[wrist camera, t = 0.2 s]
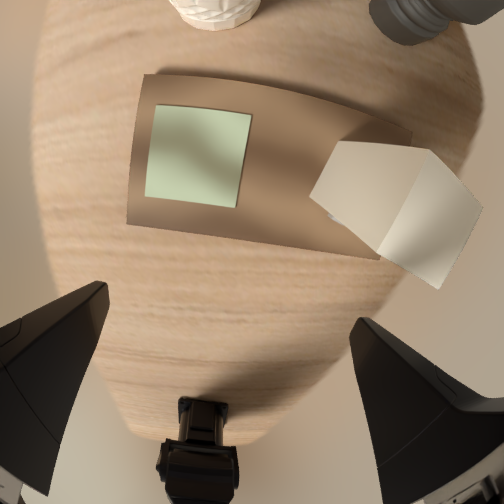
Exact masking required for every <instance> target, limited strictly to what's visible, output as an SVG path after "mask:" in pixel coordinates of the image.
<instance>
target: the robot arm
mask: <svg viewBox="0 0 504 504" xmlns="http://www.w3.org/2000/svg"><path fill="white" fill-rule="evenodd" d="M109 305H110V301H109V291H108V285H107V283H106V282H102V281H94V282H92V283H90V284H88V285H86V286H83V287H81V288H79V289H77V290H75V291H73V292H71V293H69V294H67V295H65V296H63V297H61V298H59V299H57V300H54V301H52V302H51V303H48V304H46V305H45V306H42V307H41V308H38V309H36V310H34V311H32V312H31V313H29V314H27V315H25V316H23V317H22V318H19V319H17V320H15V321H13V322H11V323H9V324H7V325H5V326H3V327H1V328H0V504H25V502H24V500H23V498H22V496H21V494H20V493H21V489H22V485H23V484H25V485H27V486H29V487H30V488H32V489H34V490H36V491H37V492H39V493H41V494H43V495H45V496H48V494H49V490H50V485H51V480H52V476H53V472H54V467H55V463H56V460H57V456H58V452H59V449H60V444H61V441H62V438H63V434H64V431H65V428H66V425H67V422H68V419H69V416H70V413H71V410H72V407H73V404H74V401H75V398H76V396H77V393H78V390H79V388H80V385H81V382H82V380H83V377H84V375H85V372H86V370H87V367H88V365H89V363H90V360H91V358H92V355H93V353H94V351H95V348H96V346H97V343H98V340H99V337H100V334H101V331H102V328H103V325H104V322H105V319H106V316H107V313H108V310H109ZM349 340H350V346H351V352H352V358H353V364H354V370H355V374H356V378H357V382H358V386H359V390H360V394H361V397H362V402H363V405H364V410H365V414H366V418H367V422H368V426H369V431H370V436H371V440H372V445H373V449H374V454H375V459H376V464H377V467H378V468H377V470H378V476H379V482H380V487H381V493H382V500H383V504H413V503H415V502H417V501H419V500H422V499H423V500H424V503H425V504H504V397H503V398H487V397H484V396H481V395H480V394H478V393H476V392H475V391H473V390H472V389H470V388H468V387H467V386H465V385H464V384H462V383H461V382H459V381H457V380H456V379H454V378H453V377H451V376H450V375H448V374H447V373H445V372H444V371H443V370H441V369H440V368H439V367H437V366H436V365H434V364H433V363H432V362H430V361H429V360H427V359H426V358H425V357H423V356H422V355H421V354H419V353H418V352H416V351H415V350H414V349H412V348H411V347H409V346H408V345H407V344H405V343H404V342H402V341H401V340H400V339H398V338H397V337H396V336H394V335H393V334H391V333H390V332H389V331H387V330H386V329H384V328H383V327H381V326H380V325H378V324H377V323H376V322H374V321H373V320H372V319H370V318H368V317H359V318H358V319H357V321H356V323H355V325H354V327H353V329H352V331H351V333H350V336H349ZM227 411H228V404H226V403H216V402H206V401H198V400H190V399H183V398H180V399H179V400H178V413H179V423H180V428H179V437H178V441H176V440H171V439H168V438H166V442H165V443H161V450H160V455H159V458H158V462H157V464H156V470H157V471H158V472H159V475H160V478H161V481H162V482H165V490H166V494H167V497H168V499H169V501H170V503H171V504H229V503H230V501H231V500H232V498H233V496H234V489H237V488H238V485H239V466H238V458H237V451H236V446H231V447H230V446H223V428H224V425H225V420H226V415H227Z"/></svg>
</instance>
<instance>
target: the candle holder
mask: <svg viewBox="0 0 504 504" xmlns="http://www.w3.org/2000/svg"><path fill="white" fill-rule="evenodd" d="M502 9H504V0H371V1H370V3H369V11H370V15H371V17H372V19H373V21H374V23H375V25H376V26H377V27H378V28H379V29H380V30H381V32H382V33H383V34H385V35H386V36H387V37H389V38H390V39H391V40H393V41H394V42H397V43H399V44H402V45H411V46H413V45H415V44H418V43H421V42H423V41H426V40H429V39H432V38H434V37H435V36H437V35H439V33H441V32H442V31H444V30H446V29H447V27H448V24H449V20H450V21H453V20H455V21H458V22H462V23H466V24H470V25H477V24H480V23H482V22H483V21H485V20H487V19H488V18H490V17H492V16H493V15H494V14H496V13H497V12H499V11H500V10H502Z"/></svg>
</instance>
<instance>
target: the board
mask: <svg viewBox="0 0 504 504" xmlns="http://www.w3.org/2000/svg"><path fill="white" fill-rule="evenodd" d="M411 138H412V132H411V131H408V130H406V129H404V128H402V127H399V126H397V125H395V124H392V123H390V122H387V121H385V120H382V119H380V118H377V117H374V116H372V115H369V114H366V113H364V112H361V111H358V110H355V109H352V108H349V107H346V106H343V105H340V104H337V103H333V102H330V101H327V100H323V99H320V98H316V97H312V96H309V95H305V94H301V93H297V92H293V91H288V90H284V89H279V88H274V87H269V86H264V85H259V84H253V83H247V82H241V81H234V80H226V79H218V78H209V77H198V76H184V75H158V74H144V78H143V83H142V88H141V93H140V98H139V104H138V110H137V116H136V122H135V129H134V136H133V144H132V152H131V162H130V172H129V185H128V201H127V224H128V225H136V226H143V227H151V228H158V229H166V230H173V231H181V232H188V233H195V234H203V235H210V236H217V237H224V238H231V239H239V240H246V241H253V242H260V243H267V244H273V245H280V246H287V247H294V248H301V249H307V250H314V251H321V252H328V253H334V254H341V255H347V256H354V257H360V258H367V259H373V260H380V257H381V255H379V254H378V253H376V252H375V251H374V250H373V249H371V248H370V247H369V246H368V245H367V244H366V243H365V242H363V241H362V240H361V239H360V238H359V237H358V236H356V235H355V234H354V233H353V232H352V231H351V230H349V229H348V228H347V227H346V226H345V225H344V226H343V225H341V224H339V223H338V222H336V221H334V220H332V219H331V218H330V217H328V216H327V215H328V214H329V212H328V211H326V210H325V209H324V208H323V207H321V206H320V205H319V204H318V203H316V202H315V201H314V200H313V199H311V198H310V197H309V196H310V194H311V192H312V190H313V188H314V186H315V184H316V182H317V181H318V179H319V177H320V175H321V173H322V171H323V169H324V167H325V165H326V164H327V162H328V160H329V158H330V156H331V154H332V152H333V150H334V148H335V146H336V144H337V142H338V141H353V142H368V143H380V144H390V145H400V146H408V147H410V144H411Z"/></svg>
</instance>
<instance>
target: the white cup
mask: <svg viewBox="0 0 504 504" xmlns="http://www.w3.org/2000/svg"><path fill="white" fill-rule="evenodd" d="M169 1H170V2H171V4H172V5H173V6H174V7H175V8H176V9H177V10H178V12H179V13H180V15H181V17H182V19H183V20H184V21H185V22H187V23H189V24H190V25H192V26H194V27H195V28H197V29H204V30H210V31H219V30H225V29H231V28H235V27H237V26H239V25H240V24H242V23H244V22H246V21H248V20H250V18H251V17H252V16H253V14H254V13H255V12H256V10H257V9H258V8H259V5H260V2H261V0H169Z"/></svg>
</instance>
